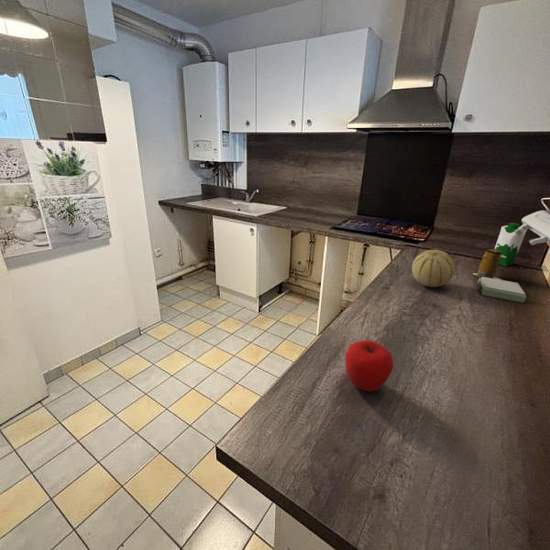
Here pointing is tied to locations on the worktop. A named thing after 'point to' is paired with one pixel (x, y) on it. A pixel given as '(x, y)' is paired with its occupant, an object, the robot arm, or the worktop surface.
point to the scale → (501, 289)
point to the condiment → (489, 264)
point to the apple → (368, 365)
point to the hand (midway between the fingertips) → (522, 238)
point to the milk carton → (509, 243)
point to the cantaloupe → (433, 268)
